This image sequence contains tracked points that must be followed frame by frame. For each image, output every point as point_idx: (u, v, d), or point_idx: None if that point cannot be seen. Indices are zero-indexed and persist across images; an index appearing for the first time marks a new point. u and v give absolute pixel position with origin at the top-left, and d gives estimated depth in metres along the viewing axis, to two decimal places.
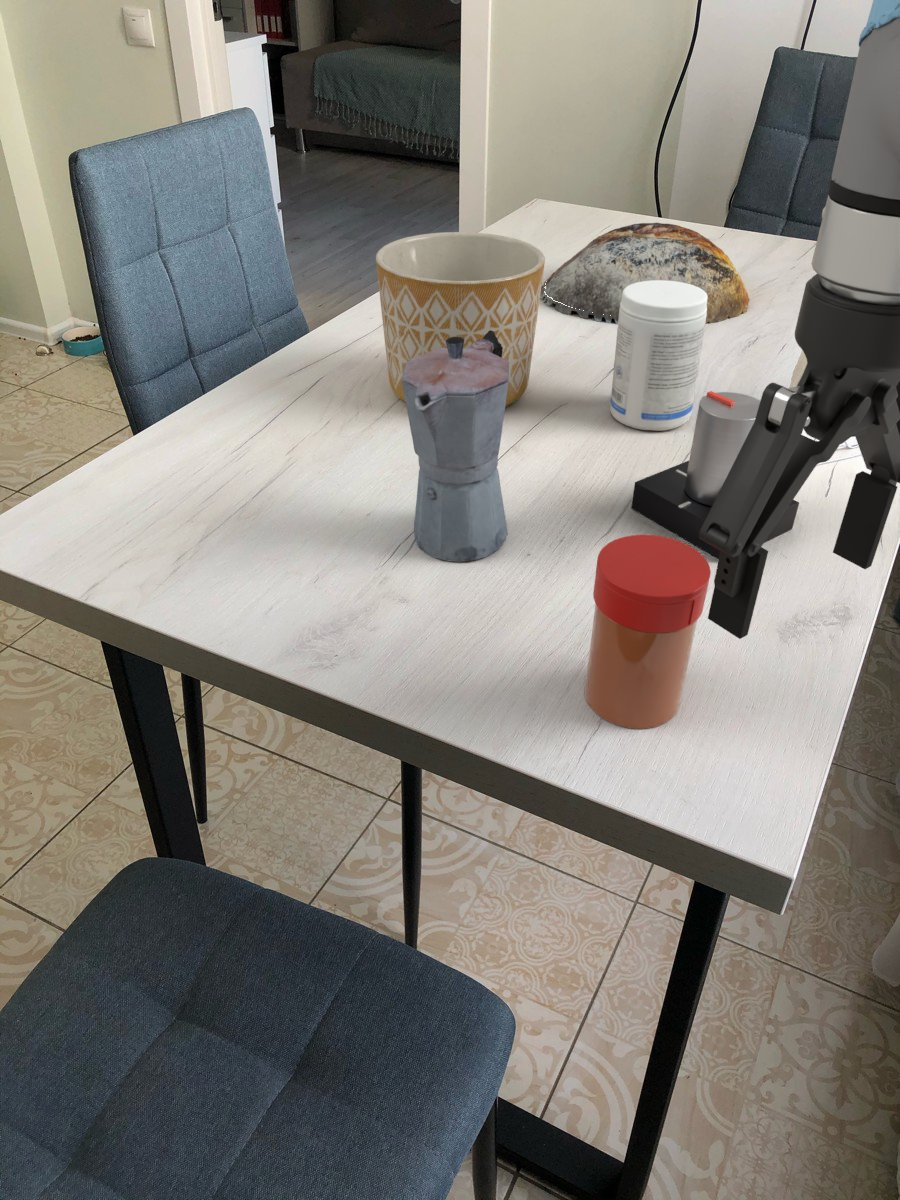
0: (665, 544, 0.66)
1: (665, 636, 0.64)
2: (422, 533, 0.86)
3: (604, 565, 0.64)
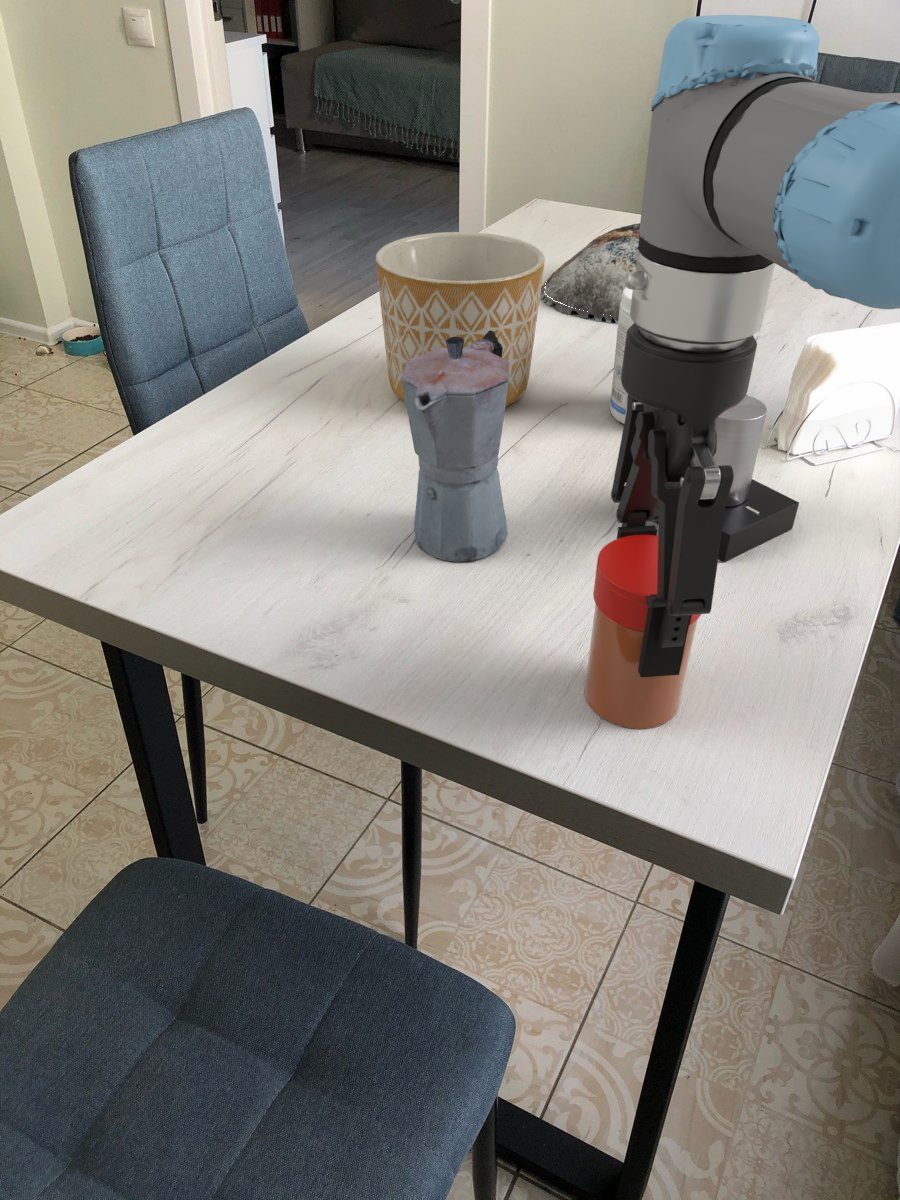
0: None
1: None
2: (422, 533, 0.86)
3: (604, 565, 0.64)
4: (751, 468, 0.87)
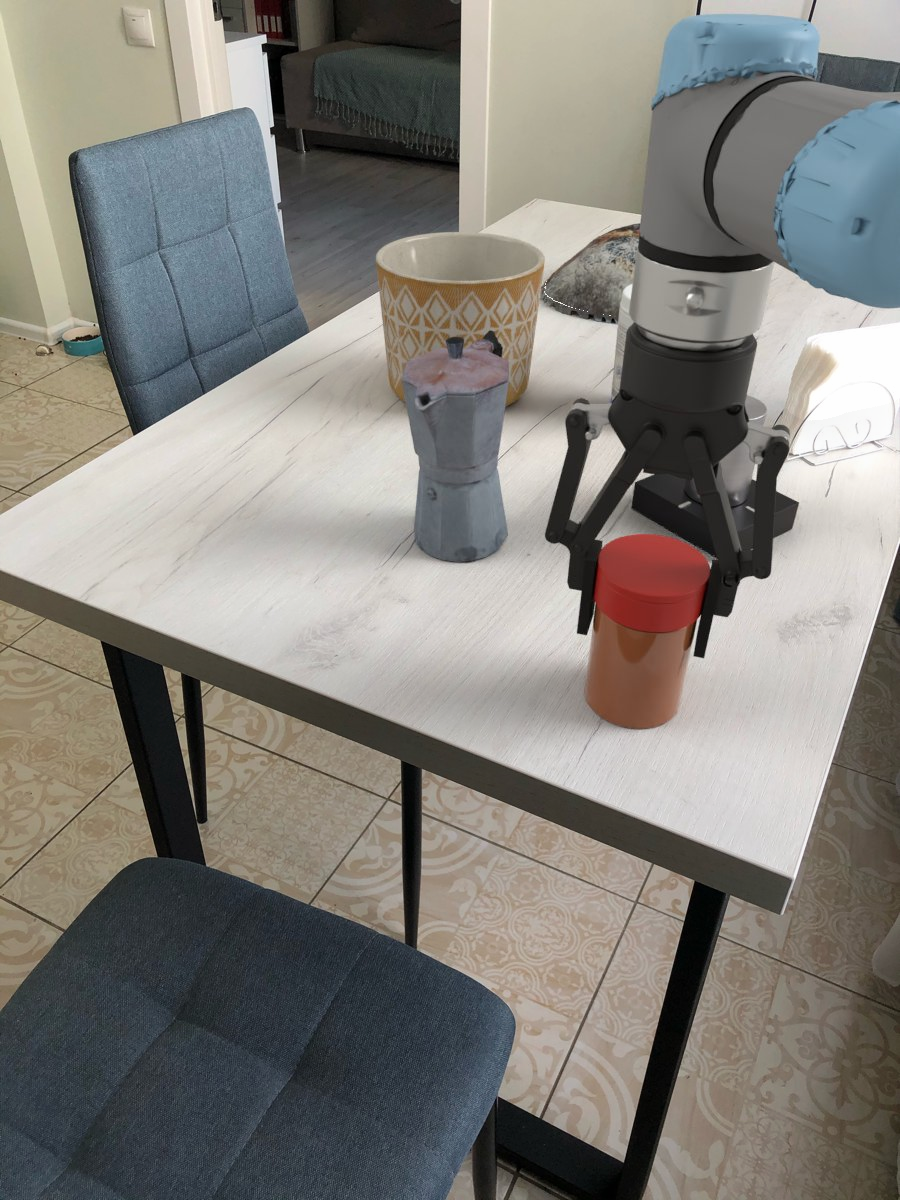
0: (623, 546, 0.66)
1: (665, 636, 0.64)
2: (422, 533, 0.86)
3: (643, 590, 0.62)
4: (751, 468, 0.87)
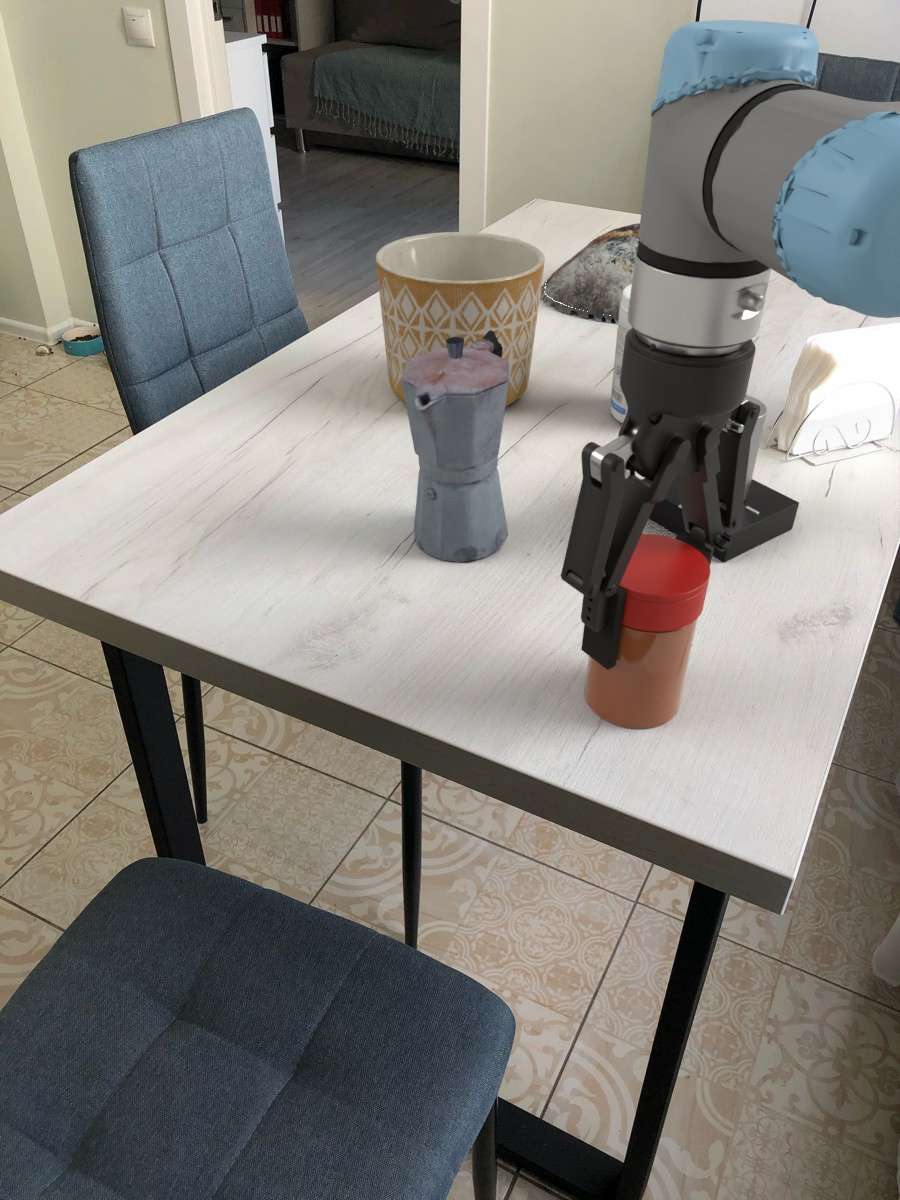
0: None
1: (665, 636, 0.64)
2: (422, 533, 0.86)
3: (689, 587, 0.62)
4: (751, 468, 0.87)
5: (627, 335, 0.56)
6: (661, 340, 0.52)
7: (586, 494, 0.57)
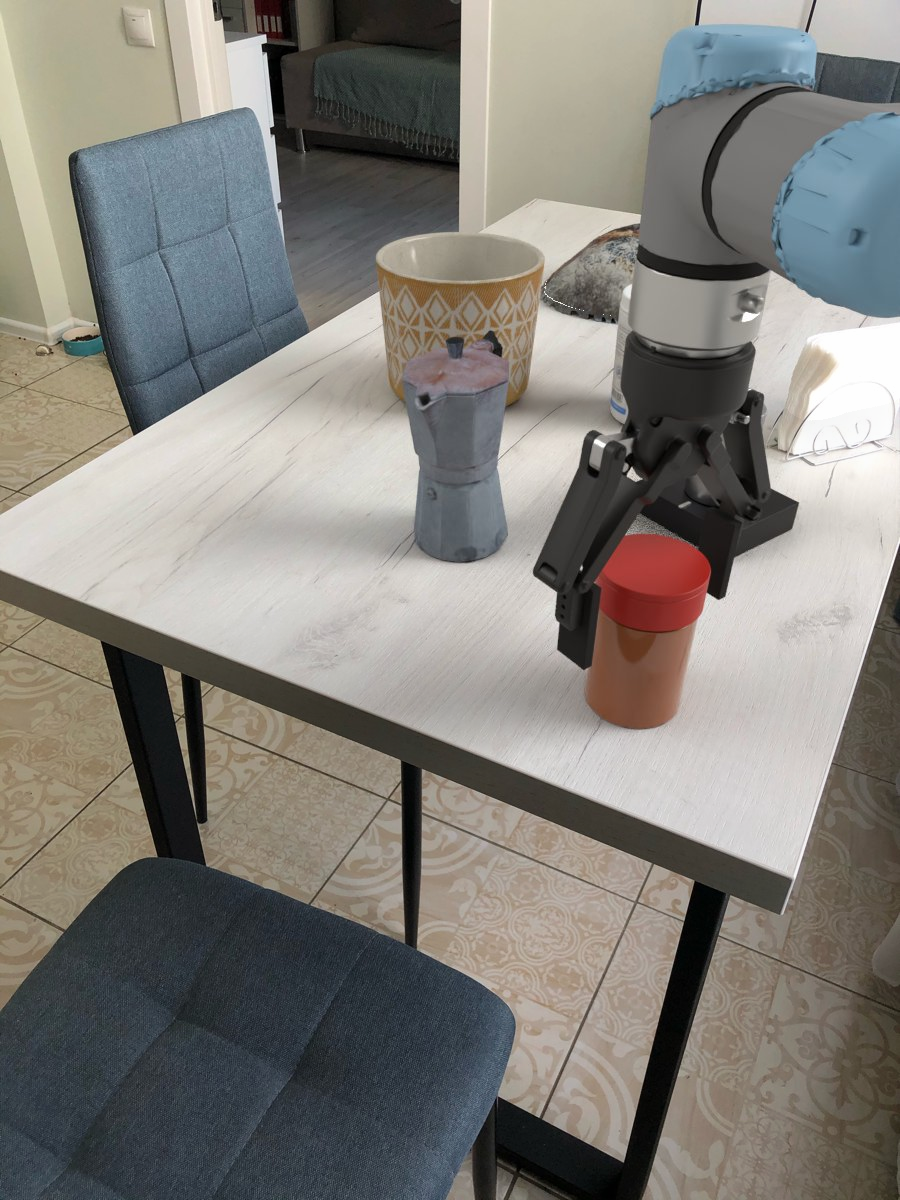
0: (613, 563, 0.64)
1: (665, 636, 0.64)
2: (422, 533, 0.86)
3: (689, 587, 0.62)
4: None
5: (627, 338, 0.56)
6: (661, 342, 0.52)
7: (579, 483, 0.56)
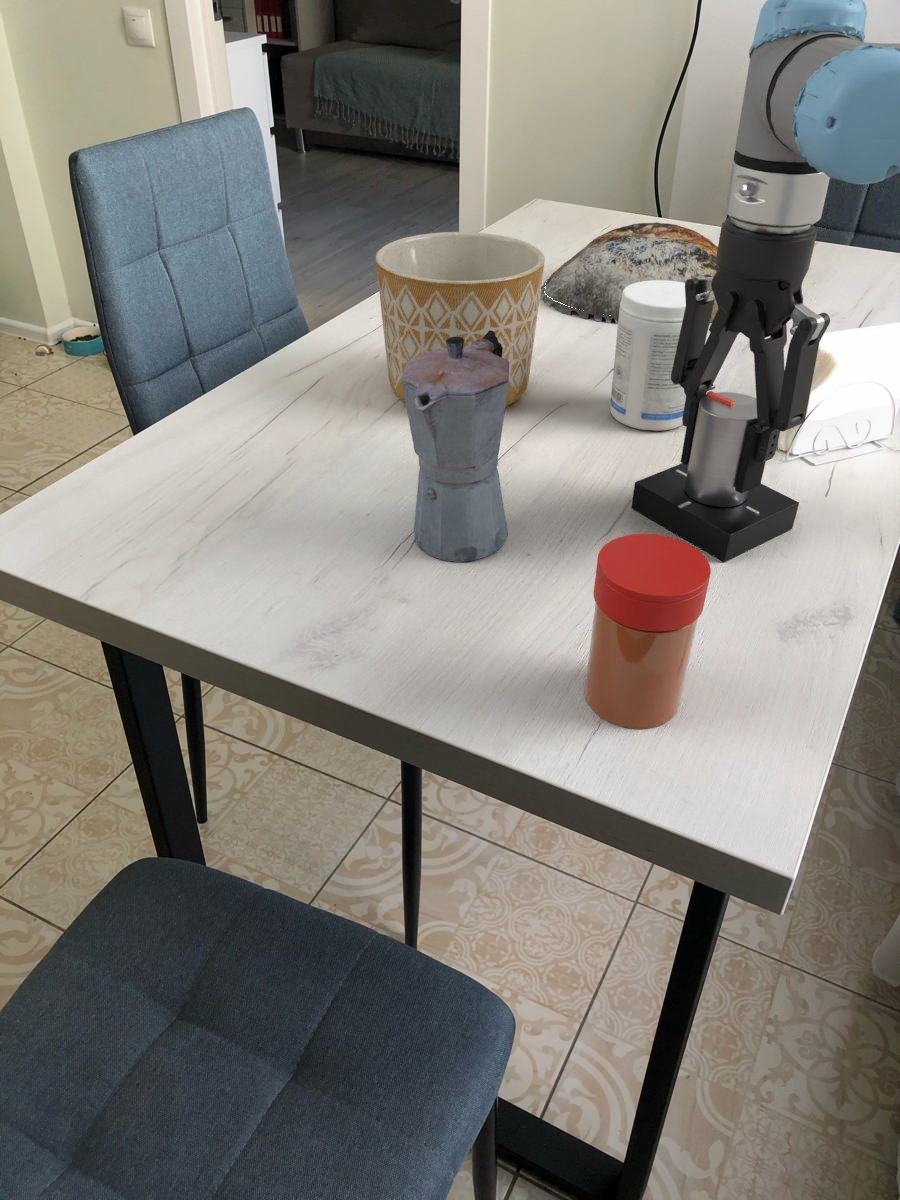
0: (613, 563, 0.64)
1: (665, 636, 0.64)
2: (422, 533, 0.86)
3: (689, 587, 0.62)
4: None
5: None
6: None
7: None
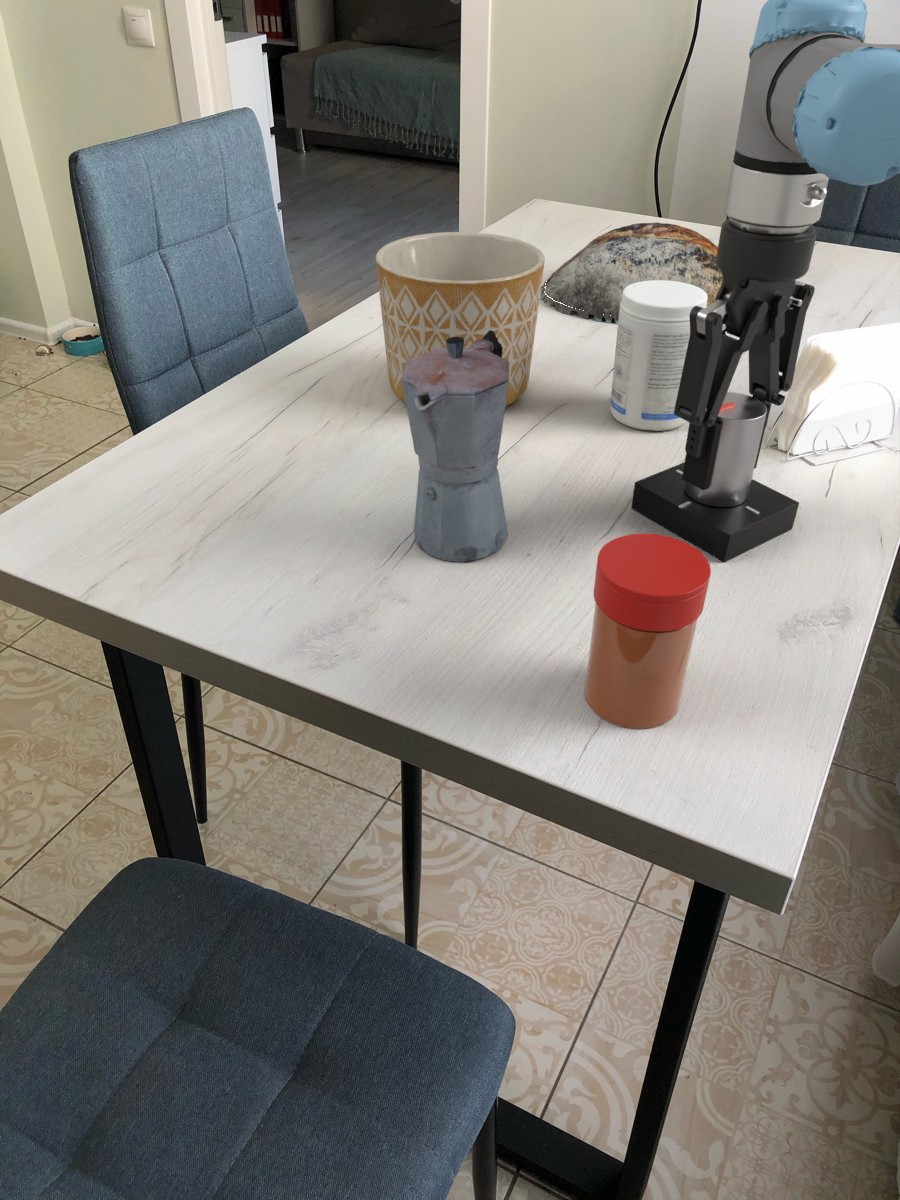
0: (613, 563, 0.64)
1: (665, 636, 0.64)
2: (422, 533, 0.86)
3: (689, 587, 0.62)
4: None
5: (723, 225, 0.77)
6: (752, 223, 0.73)
7: (693, 346, 0.79)
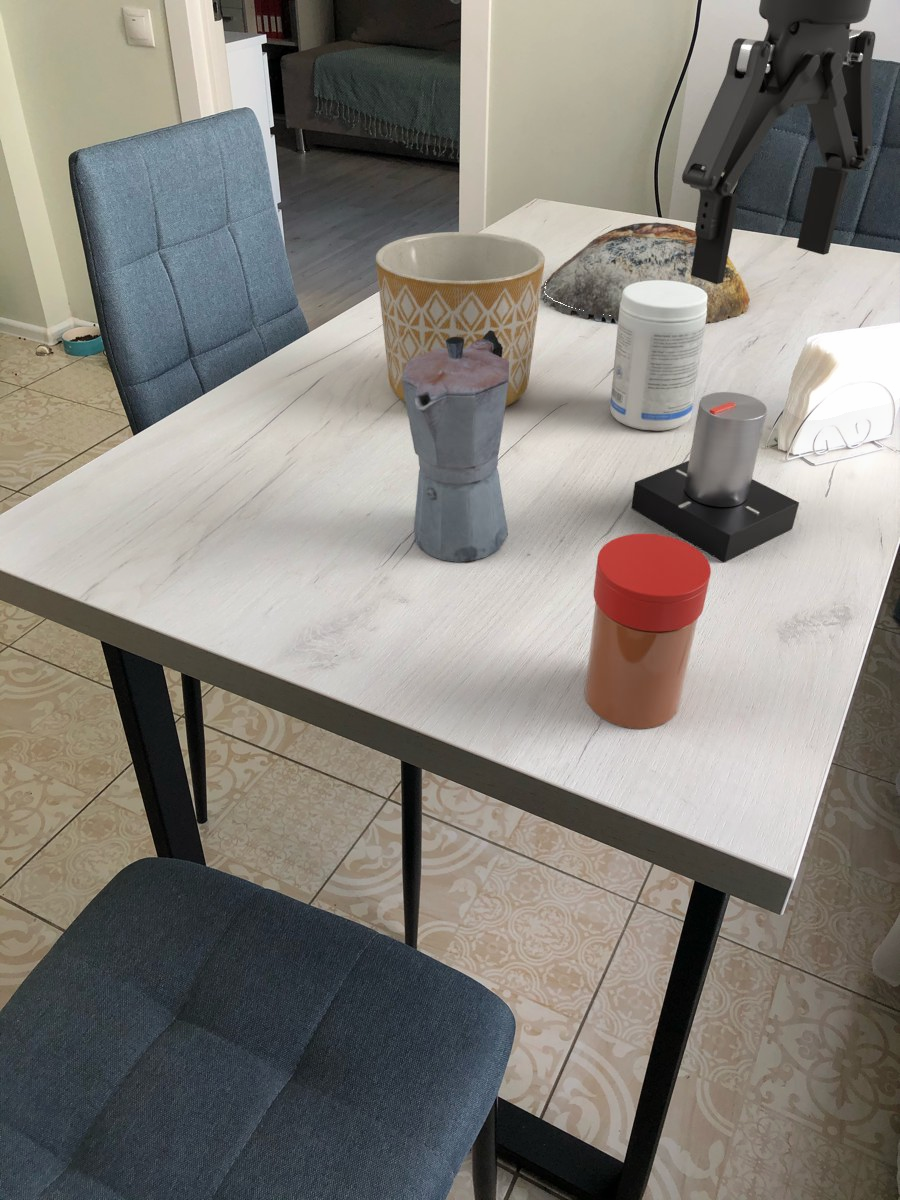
0: (613, 563, 0.64)
1: (665, 636, 0.64)
2: (422, 533, 0.86)
3: (689, 587, 0.62)
4: None
5: None
6: None
7: (727, 87, 0.67)
